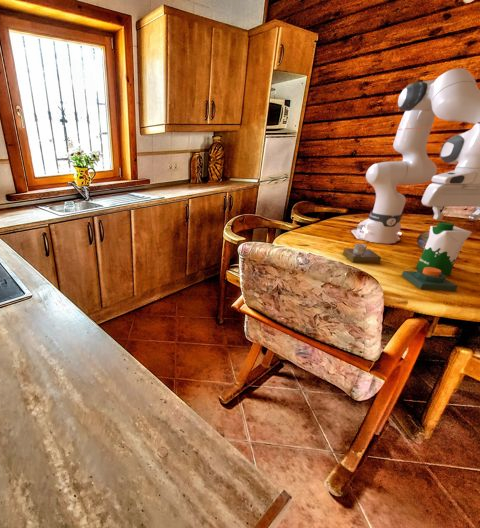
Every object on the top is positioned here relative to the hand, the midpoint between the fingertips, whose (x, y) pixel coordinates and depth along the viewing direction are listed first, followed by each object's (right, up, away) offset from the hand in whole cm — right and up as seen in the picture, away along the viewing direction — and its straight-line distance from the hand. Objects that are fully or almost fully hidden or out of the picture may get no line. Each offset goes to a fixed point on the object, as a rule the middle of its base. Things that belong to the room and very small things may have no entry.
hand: (454, 219), depth 93 cm
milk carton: (+12, -18, +17) cm, 28 cm away
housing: (+1, -22, +10) cm, 24 cm away
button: (+1, -19, +8) cm, 21 cm away
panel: (-5, -13, +32) cm, 35 cm away
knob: (-7, -10, +30) cm, 33 cm away
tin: (+32, -9, +36) cm, 49 cm away
